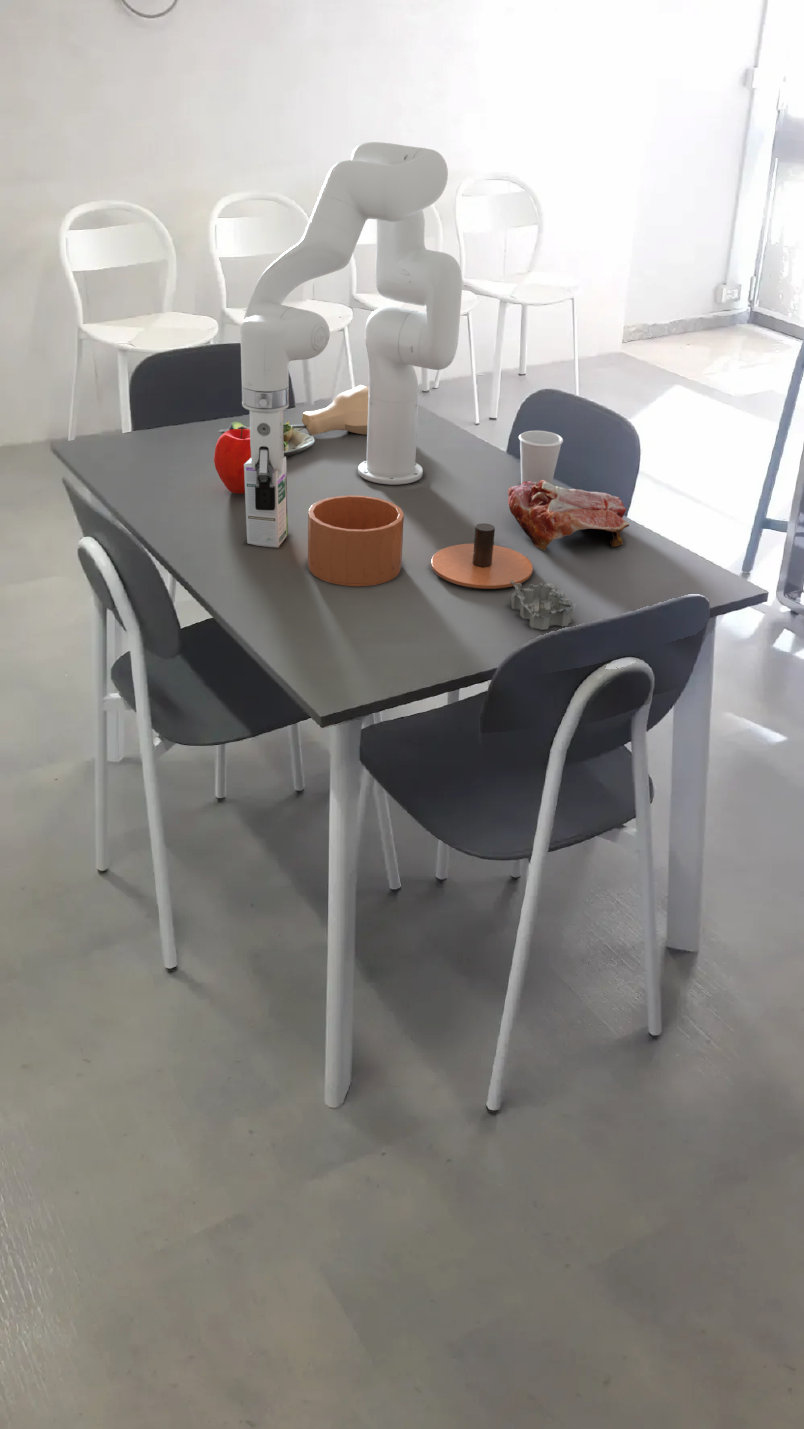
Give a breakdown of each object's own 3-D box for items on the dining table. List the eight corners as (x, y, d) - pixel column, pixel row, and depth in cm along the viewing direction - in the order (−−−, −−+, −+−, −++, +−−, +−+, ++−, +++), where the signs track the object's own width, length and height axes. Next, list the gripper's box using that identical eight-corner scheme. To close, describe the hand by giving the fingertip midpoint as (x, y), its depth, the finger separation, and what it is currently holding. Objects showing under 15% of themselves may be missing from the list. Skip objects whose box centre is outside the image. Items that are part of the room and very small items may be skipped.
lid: (428, 548, 216) (430, 506, 212) (525, 551, 217) (530, 509, 213) (433, 590, 201) (436, 546, 197) (538, 593, 202) (542, 549, 198)
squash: (402, 434, 268) (404, 396, 262) (317, 454, 261) (316, 416, 255) (379, 410, 275) (380, 373, 269) (295, 430, 268) (294, 391, 262)
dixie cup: (506, 482, 245) (511, 432, 240) (544, 478, 248) (549, 428, 243) (527, 497, 238) (532, 446, 233) (565, 493, 241) (571, 442, 236)
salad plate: (280, 423, 269) (280, 402, 267) (336, 446, 259) (336, 424, 256) (207, 441, 257) (206, 419, 255) (262, 465, 247) (262, 443, 244)
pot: (309, 546, 214) (309, 494, 209) (399, 549, 215) (402, 496, 210) (306, 585, 201) (306, 529, 196) (402, 587, 202) (405, 532, 197)
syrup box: (278, 548, 213) (278, 466, 205) (245, 544, 214) (243, 462, 206) (288, 535, 218) (287, 455, 210) (255, 531, 219) (253, 451, 211)
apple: (234, 506, 228) (232, 441, 222) (204, 489, 235) (201, 426, 228) (279, 494, 234) (278, 430, 228) (248, 479, 240) (246, 416, 234)
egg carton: (505, 602, 199) (507, 579, 197) (549, 598, 201) (551, 574, 199) (531, 632, 190) (534, 608, 188) (577, 627, 192) (580, 603, 190)
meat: (560, 500, 238) (566, 449, 233) (650, 535, 225) (658, 482, 220) (483, 526, 226) (488, 472, 220) (574, 565, 213) (581, 509, 207)
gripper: (286, 414, 196) (286, 521, 205) (291, 381, 211) (291, 483, 220) (237, 412, 195) (240, 520, 205) (245, 380, 210) (247, 482, 219)
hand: (266, 500), depth 212 cm, fingers closed on syrup box, 6 cm apart
